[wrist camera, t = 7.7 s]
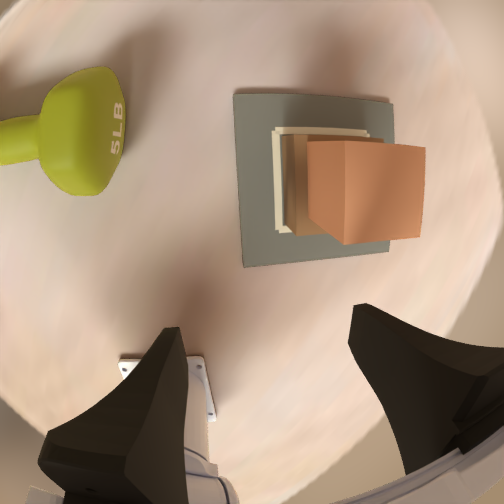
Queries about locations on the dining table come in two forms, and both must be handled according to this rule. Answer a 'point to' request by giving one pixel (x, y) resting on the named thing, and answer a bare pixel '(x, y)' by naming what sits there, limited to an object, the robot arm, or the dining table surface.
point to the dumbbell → (72, 132)
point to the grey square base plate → (271, 168)
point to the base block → (303, 180)
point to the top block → (366, 190)
